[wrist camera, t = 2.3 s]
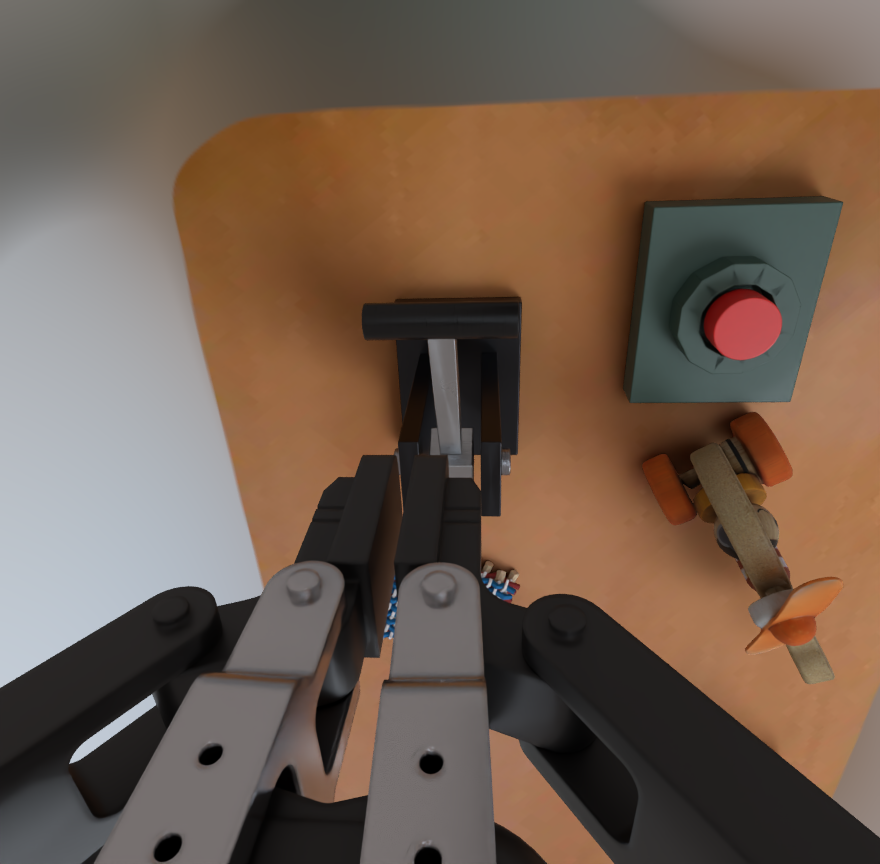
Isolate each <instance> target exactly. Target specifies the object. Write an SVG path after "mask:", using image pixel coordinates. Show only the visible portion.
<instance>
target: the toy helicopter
mask: <svg viewBox="0 0 880 864" xmlns="http://www.w3.org/2000/svg"><path fill="white" fill-rule="evenodd" d="M730 427H731V430H732V433H733V435H734V437H733V438H730V439H726V440H725V441H723V442H722V443H720V444H719V445H718V444H717V443H711V444H709V445H707V446H705V447H703V448H701V449H698V450H696V451H695V452H693V453H692V454H691V455H690V460H691V462H692V464H693V466H694V469H692V470H689V471H687V472H685V473H683V474H681V475H678V474H677V472H676V470H675V468H674V467H673V465H672V463H671V461H670V459H669V458H668V456H667V455H665V454H660V455H658V456H656V457H653V458H651V459H649V460H647V461H645V462H644V463H643V465H642V467H643V471H644V474H645V476H646V478H647V480H648V483H649V485H650V487H651V489H652V491H653V493H654V495H655V497H656V499H657V501H658V503H659V505H660V507H661V509H662V511H663V513H664V514H665V516H666V518H667V519H668V521H669V522H670V523H671V524H672V525H679V524H682V523H684V522H687V521H690V520H692V519H693V518H695V516H696V515H697V512H698V514H699V516H700V518H701V519H702V520H703V521H704V522H707V523H714V535H715V538H716V541H717V543H718V545H719V547H720V548H721V549H722V550H723V551H724V552H725V553H726V554H728V555H730V556H731V557H734V558H735V559H736V561H737V563H738V565H739V567H740V569H741V571H742V573H743V575H744V577H745V579H746V581H747V583H748V584H749V586H750V587H751V588H752V589H754V590H755V591H757V593H758V595H759V596H760V598H761V599H759V600H757V601H756V602H754V603H752V604H751V605H750V606H749V608H748V611H749V613H750V615H751V617H752V619H753V621H754V623H755V624H756V625H757V626H758V627H760V628H761V632H760V633H759V634H758V635H757V637H756V638H754V639H753V640H752V642H751V643H750V644H748V645H747V647H746V648H745V651H746V653H747V654H750V655H755V654H760V653H764V652H767V651H770V650H773V649H776V648H778V647H780V646H782V645H784V644H786V646H787V648H788V650H789V653H790V655H791V657H792V659H793V661H794V663H795V664H796V666H797V668H798V670H799V672H800V674H801V676H802V678H803V680H804V682H805V683H807V684H815V683H819V682H824V681H828V680H833V679H834V677H835V676H834V673H833V671H832V669H831V667H830V664H829V662H828V660H827V658H826V656H825V654H824V652H823V650H822V649H821V647H820V645H819V643H818V641H817V639H816V637H815V633H816V621H815V619H814V618H815V617H816V616H817V615H818V614H820V613H821V612H822V611H824V610H825V609H826V608H827V607H828V606H829V605H830V604H831V602H832V601H833V600H834V598H835V597H836V596H837V595H838V593H839V592H840V591H841V590H842V588H843V581H842V580H841V579H839V578H837V577H825V578H819V579H815V580H811V581H809V582H806V583H804V584H802V585H800V586H798V587H797V588H795V589H793V587H792V585H791V582H790V571H789V569H788V567H787V565H786V563H785V561H784V560H783V558H782V556H781V554H780V552H779V550H778V548H777V547H776V546H777V542H778V539H779V528H778V525H777V522H776V520H775V518H774V517H773V515H772V514H771V513H770V512H769V511H768V510H766V509H765V508H764V507H762V506H760V505H761V504H763V502H764V500H765V499H766V492H765V490H764V488H763V486H762V484H765V485H766V486H767V487H769V486H773V485H775V484H778V483H780V482H783V481H785V480H788V479H789V478H791V476H792V474H793V473H792V467H791V465H790V463H789V461H788V458H787V456H786V455H785V453H784V451H783V449H782V447H781V445H780V443H779V442H778V440H777V438H776V437H775V435H774V434H773V432H772V430H771V429H770V427H769V426H768V425H767V423H766V422H765V421H764V419H763V418H762V417H761V416H760V415H759V414H758V413H756V412H750V413H748V414H746V415H744V416H741V417H739V418H737V419H735V420H733V421H732V422H731V423H730ZM700 482H701V484H702V486H703V487H702V488H701V490H700V491H699V492H698V494H697V495H696V496H695V498H694V499H693V501H694V503H692V501H691V499H690V497H689V495H688V493H687V491H686V489H685V487H684V486H683V484H685V485H686V486H687V487H688V488H690V489H694V488H695V487H697V486H698V485H700Z"/></svg>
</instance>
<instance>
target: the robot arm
mask: <svg viewBox="0 0 880 864" xmlns="http://www.w3.org/2000/svg"><path fill="white" fill-rule="evenodd" d="M394 577H395V581H396V591H397V601H398V603H397V612H396V621H395V630H394V639H393V648H392V657H391V666H390V675H389V680H384V681H383V684H382V689H381V695H380V703H379V711H378V720H377V728H376V736H375V744H374V752H373V761H372V769H371V777H370V785H369V793H368V795H366V796H362V797H357V798H353V799H348V800H344V801H339V802H334V797H335V790H336V785H337V781H338V777H339V773H340V769H341V766H342V762H343V758H344V754H345V750H346V746H347V742H348V738H349V735H350V731H351V727H352V723H353V719H354V715H355V711H356V707H357V704H358V700H359V696H360V682H359V677H360V674H361V669H362V664H363V660H364V657H370V658H380V652H381V647H382V642H383V636H384V631H385V625H386V620H387V615H388V609H389V604H390V599H391V593H392V588H393V583H394ZM151 694H152V695H153V697H154V700H155V702H156V706H154V707H153V708H152V709H150V710H149V711H147V712H146V713H145V714H143V715H142V716H141V717H139V718H138V719H136V720H135V721H134V722H132V723H131V724H129V725H128V726H127V727H125V728H124V729H123V730H121V731H120V732H118V733H117V734H116V735H114V736H113V737H111V738H110V739H109V740H107V741H106V742H105V743H103V744H102V745H100V746H99V747H98V748H96V749H95V750H94V751H92V752H91V753H89V754H88V755H87V756H85V757H84V758H82V759H81V760H79V761H77V762H74V763H71V764H69V763H70V759H71V758H72V756H73V754H74V753H75V751H76V750H77V749H78V748H79V746H80V745H81V744H82V743H84V742H85V741H86V740H87V739H89V738H90V737H92V736H93V735H94V734H96V733H97V732H99V731H100V730H101V729H103V728H104V727H106V726H107V725H109V724H110V723H111V722H113V721H114V720H115V719H117V718H118V717H120V716H121V715H123V714H124V713H125V712H127V711H128V710H130V709H131V708H133V707H134V706H135V705H137V704H138V703H140V702H141V701H142V700H144V699H145V698H147V697H148V696H149V695H151ZM489 729H491V730H494V731H497V732H500V733H502V734H505V735H508V736H511V737H514V738H516V739H519V742H520V746H521V748H522V750H523V752H524V753H525V755H526V756H527V758H528V759H529V760H530V761H531V762H532V764H533V765H534V766H535V767H536V769H537V770H538V771H539V772H540V773H541V775H542V776H543V777H544V778H545V780H546V781H547V782H548V783H549V784H550V786H551V787H552V788H553V789H554V790H555V792H556V793H557V794H558V795H559V797H560V798H561V799H562V800H563V801H564V803H565V804H566V805H567V806H568V808H569V809H570V810H571V811H572V812H573V814H574V815H575V816H576V817H577V819H578V820H579V821H580V822H581V823H582V825H583V826H584V827H585V828H586V829H587V831H588V832H589V833H590V834H591V836H592V837H593V838H594V839H595V840H596V842H597V843H598V844H599V845H600V847H601V848H602V849H603V850H604V851H605V853H606V854H607V855H608V856H609V858H610V859H611V860H612V861H613V862H614V864H880V838H879V837H878V836H877V835H875V834H874V833H873V832H872V831H871V830H870V829H868V828H867V827H866V826H864V825H863V824H862V823H861V822H860V821H859V820H857V819H856V818H855V817H854V816H852V815H851V814H850V813H849V812H848V811H846V810H845V809H844V808H843V807H841V806H840V805H839V804H838V803H837V802H835V801H834V800H833V799H832V798H831V797H829V796H828V795H827V794H826V793H824V792H823V791H822V790H821V789H820V788H818V787H817V786H816V785H815V784H814V783H812V782H811V781H810V780H809V779H807V778H806V777H805V776H804V775H803V774H801V773H800V772H799V771H798V770H796V769H795V768H794V767H793V766H792V765H790V764H789V763H788V762H787V761H786V760H784V759H783V758H782V757H781V756H779V755H778V754H777V753H776V752H775V751H773V750H772V749H771V748H770V747H768V746H767V745H766V744H765V743H764V742H762V741H761V740H760V739H759V738H757V737H756V736H755V735H754V734H753V733H751V732H750V731H749V730H748V729H747V728H745V727H744V726H743V725H742V724H740V723H739V722H738V721H737V720H736V719H734V718H733V717H732V716H731V715H729V714H728V713H727V712H726V711H725V710H723V709H722V708H721V707H720V706H718V705H717V704H716V703H715V702H714V701H712V700H711V699H710V698H709V697H708V696H706V695H705V694H704V693H703V692H701V691H700V690H699V689H698V688H697V687H695V686H694V685H693V684H692V683H690V682H689V681H688V680H687V679H686V678H684V677H683V676H682V675H681V674H680V673H678V672H677V671H676V670H675V669H673V668H672V667H671V666H670V665H669V664H667V663H666V662H665V661H664V660H662V659H661V658H660V657H659V656H658V655H656V654H655V653H654V652H653V651H651V650H650V649H649V648H648V647H647V646H645V645H644V644H643V643H642V642H641V641H639V640H638V639H637V638H636V637H634V636H633V635H632V634H631V633H630V632H628V631H627V630H626V629H625V628H623V627H622V626H621V625H620V624H619V623H617V622H616V621H615V620H614V619H613V618H611V617H610V616H609V615H608V614H606V613H605V612H604V611H603V610H602V609H600V608H599V607H598V606H596V605H595V604H594V603H592V602H590V601H588V600H586V599H584V598H581V597H578V596H574V595H568V594H553V595H548V596H544V597H542V598H540V599H537V600H536V601H534V602H533V603H532V604H531V605H530V606H529V607H528V608H525V607H522V606H518V605H514V604H511V603H508V602H506V601H504V600H502V599H500V598H498V597H497V596H495V595H494V594H493V593H492V592H490V591H489V590H488V588H487V587H486V586H485V584H484V583H483V581H482V578H481V491H480V489H479V488H478V486H477V485H476V484H475V482H474V481H473V479H472V478H449V461H448V455H415V456H414V460H413V466H412V471H411V476H410V481H409V486H408V491H407V496H406V502H405V507H404V512H403V517H402V504H401V492H400V480H399V468H398V460H397V456H396V455H363V456H362V458H361V460H360V463H359V466H358V469H357V472H356V475H355V477H338V478H337V479H336V480H335V481H334V482H333V483H332V484H331V485H330V486H328V487H327V488H326V489H325V490H324V491H323V494H322V496H321V499H320V501H319V504H318V509H316V511H315V514H314V516H313V518H312V522H311V523H310V526H309V528H308V531H307V533H306V536H305V538H304V541H303V543H302V546H301V548H300V550H299V553H298V555H297V558H296V560H295V563H294V564H292V565H290V566H288V567H286V568H283V569H282V570H280V571H279V572H277V573H276V574H275V575H274V576H273V577H272V578H271V579H270V580H269V582H268V583H267V585H266V587H265V588H264V590H263V592H262V594H261V595H260V596H258V597H255V598H251V599H248V600H244V601H239V602H235V603H231V604H226V605H221V606H217V604H216V601H215V598H214V597H213V595H212V594H211V593H210V592H208V591H207V590H205V589H202V588H199V587H189V586H188V587H178V588H173V589H170V590H167V591H164V592H162V593H160V594H157V595H156V596H154V597H152V598H150V599H149V600H147V601H145V602H143V603H142V604H140V605H138V606H137V607H135V608H133V609H132V610H130V611H128V612H127V613H125V614H124V615H122V616H120V617H118V618H117V619H115V620H113V621H112V622H110V623H108V624H107V625H105V626H103V627H102V628H100V629H98V630H97V631H95V632H93V633H92V634H90V635H88V636H87V637H85V638H83V639H82V640H80V641H78V642H77V643H75V644H73V645H72V646H70V647H68V648H66V649H65V650H63V651H62V652H60V653H58V654H56V655H55V656H53V657H51V658H50V659H48V660H46V661H45V662H43V663H41V664H40V665H38V666H36V667H35V668H33V669H31V670H30V671H28V672H26V673H25V674H23V675H21V676H20V677H18V678H16V679H15V680H13V681H11V682H10V683H8V684H6V685H5V686H3V687H1V688H0V864H547V863H546V862H545V861H544V860H543V859H542V858H541V856H540V855H539V854H538V853H537V852H536V851H535V850H534V849H533V848H532V847H530V846H529V845H528V844H527V843H526V842H524V841H523V840H522V839H521V838H520V837H518V836H517V835H515V834H514V833H512V832H511V831H509V830H508V829H506V828H505V827H503V826H501V825H499V824H497V823H495V822H494V812H493V794H492V776H491V758H490V740H489Z"/></svg>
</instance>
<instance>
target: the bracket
mask: <svg viewBox="0 0 880 864" xmlns="http://www.w3.org/2000/svg"><path fill="white" fill-rule="evenodd" d="M464 301H518V302H519V335H518V338H502V339H457V353H458V371H459V390H460V408H461V427H462V428H473V441H474V455H481V516H501V475H510V466H511V460H510V455H517V454H518V424H519V388H520V352H521V315H522V301H521V297H491V298H438V299H396V300H395V303H409V302H464ZM396 345H397V358H398V372H399V385H400V398H401V411H402V428H401V432H400V436H399V441H398V448H396V449H395V452H394V455H396V456H397V460H398V468H399V475H401V486H402V498H403V511H404V507H405V502H406V496H407V491H408V486H409V481H410V476H411V471H412V466H413V460H414V456H415V455H429V448H430V432H431V428H437V422H436V413H435V404H434V394H433V385H432V376H431V367H430V357H429V348H428V340H396Z"/></svg>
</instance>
